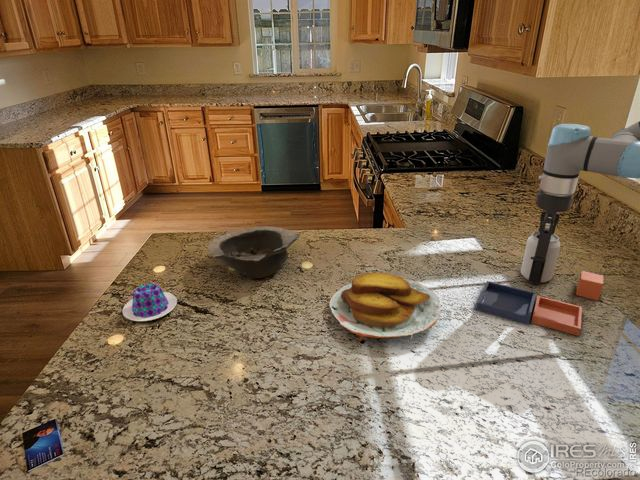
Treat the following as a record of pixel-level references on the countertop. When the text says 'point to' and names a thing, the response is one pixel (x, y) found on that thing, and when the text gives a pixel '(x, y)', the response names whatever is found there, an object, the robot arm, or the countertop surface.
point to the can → (550, 257)
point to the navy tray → (506, 302)
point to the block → (589, 285)
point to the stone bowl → (253, 250)
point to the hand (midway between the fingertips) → (536, 274)
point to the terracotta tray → (557, 315)
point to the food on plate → (385, 306)
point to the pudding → (149, 303)
